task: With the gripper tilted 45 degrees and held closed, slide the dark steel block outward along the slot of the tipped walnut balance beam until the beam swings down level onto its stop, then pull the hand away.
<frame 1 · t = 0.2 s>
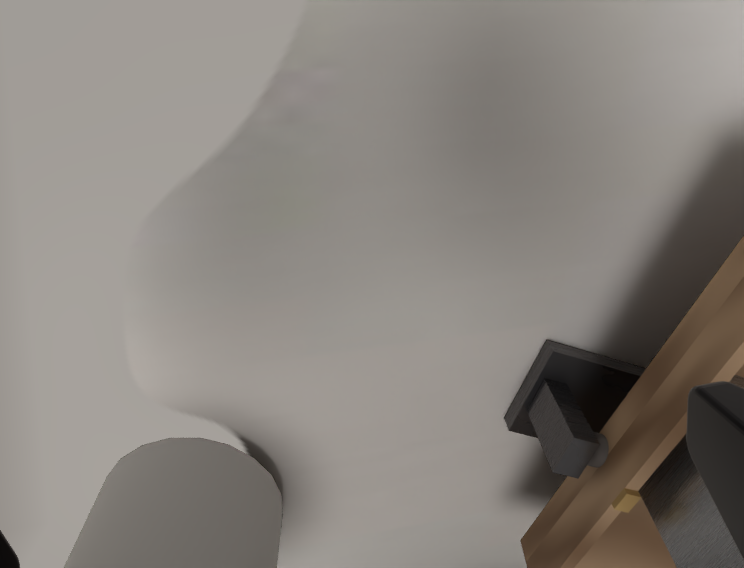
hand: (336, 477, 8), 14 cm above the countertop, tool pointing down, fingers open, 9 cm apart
can: (199, 487, 27), on the countertop
stand: (644, 413, 26), on the countertop
steel block: (731, 441, 21), point 4 cm above the countertop, touching beam
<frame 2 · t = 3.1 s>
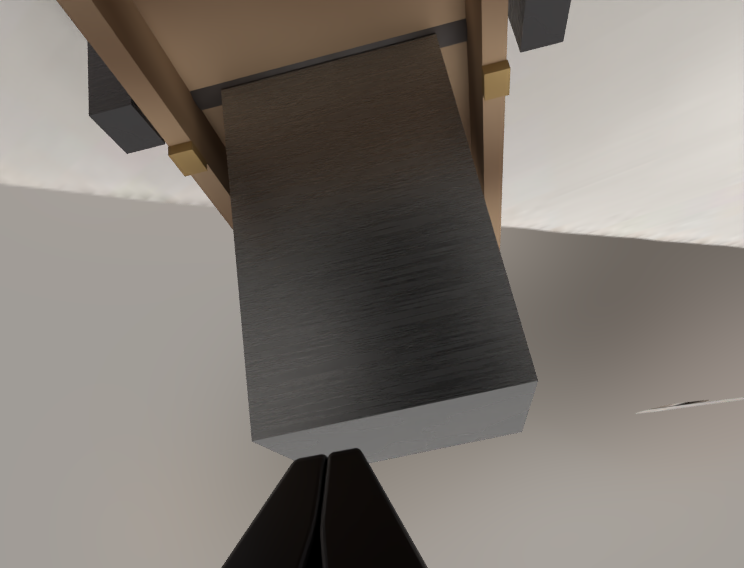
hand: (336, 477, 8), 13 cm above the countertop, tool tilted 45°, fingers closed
beam: (354, 149, 16), point 5 cm above the countertop, hinge at -4.8°, touching steel block
steel block: (349, 130, 16), point 4 cm above the countertop, touching beam
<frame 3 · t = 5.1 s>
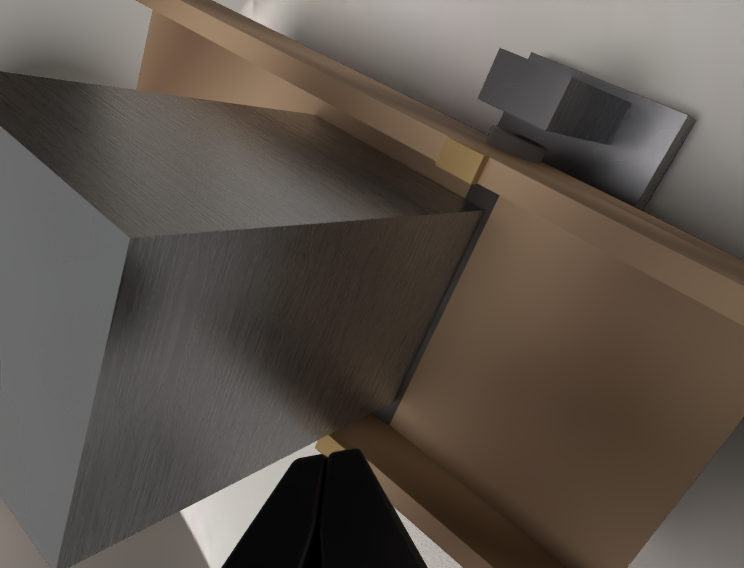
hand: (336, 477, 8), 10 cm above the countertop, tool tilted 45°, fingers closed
beam: (333, 247, 15), point 5 cm above the countertop, hinge at -4.8°, touching steel block
stand: (510, 287, 17), on the countertop
steel block: (354, 256, 15), point 4 cm above the countertop, touching beam
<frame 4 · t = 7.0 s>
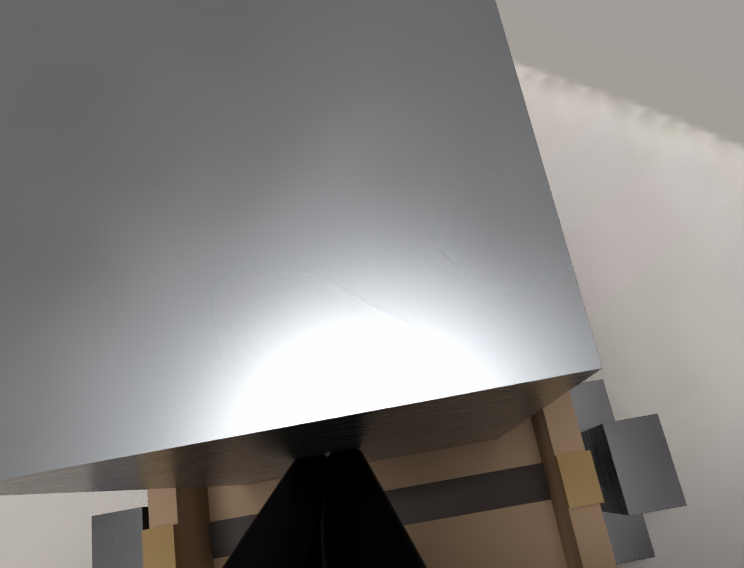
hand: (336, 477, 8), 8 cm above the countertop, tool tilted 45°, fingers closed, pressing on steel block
beam: (351, 364, 12), point 4 cm above the countertop, hinge at -0.9°, touching steel block
stand: (393, 505, 15), on the countertop
steel block: (348, 337, 13), point 4 cm above the countertop, touching beam, gripper
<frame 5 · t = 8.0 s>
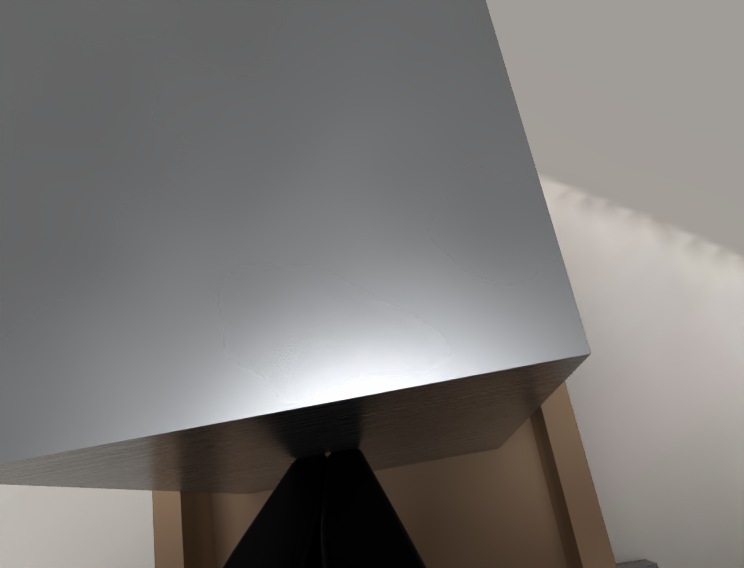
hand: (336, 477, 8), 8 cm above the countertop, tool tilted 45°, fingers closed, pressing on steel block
steel block: (351, 347, 13), point 4 cm above the countertop, touching beam, gripper
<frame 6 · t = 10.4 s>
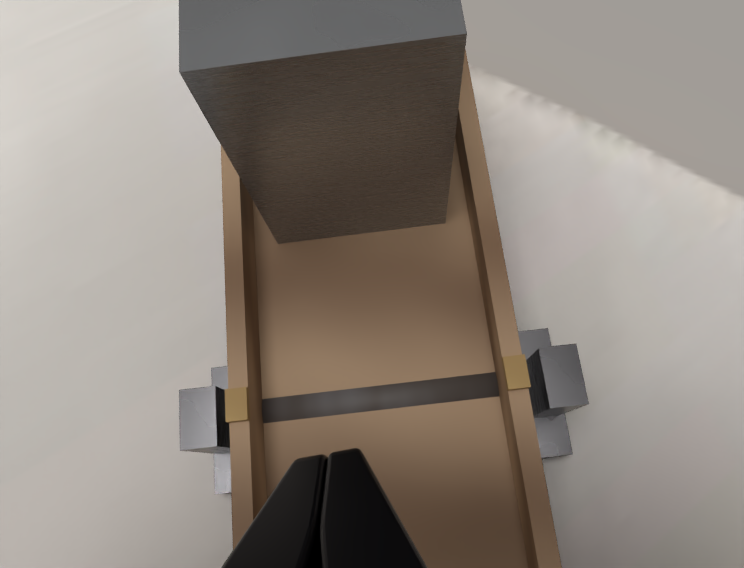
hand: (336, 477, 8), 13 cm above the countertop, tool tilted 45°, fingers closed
beam: (368, 297, 17), point 4 cm above the countertop, hinge at 1.2°, touching steel block
stand: (385, 411, 20), on the countertop
steel block: (353, 159, 19), point 4 cm above the countertop, touching beam
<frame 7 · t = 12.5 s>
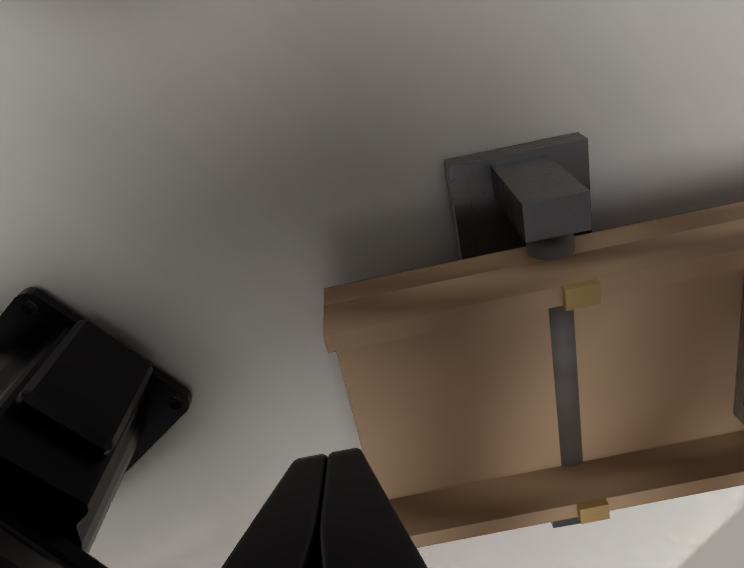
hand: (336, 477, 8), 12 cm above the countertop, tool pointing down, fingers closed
beam: (670, 363, 17), point 4 cm above the countertop, hinge at 1.2°, touching steel block
stand: (527, 308, 21), on the countertop
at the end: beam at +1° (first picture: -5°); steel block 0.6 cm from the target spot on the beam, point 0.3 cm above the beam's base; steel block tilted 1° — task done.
